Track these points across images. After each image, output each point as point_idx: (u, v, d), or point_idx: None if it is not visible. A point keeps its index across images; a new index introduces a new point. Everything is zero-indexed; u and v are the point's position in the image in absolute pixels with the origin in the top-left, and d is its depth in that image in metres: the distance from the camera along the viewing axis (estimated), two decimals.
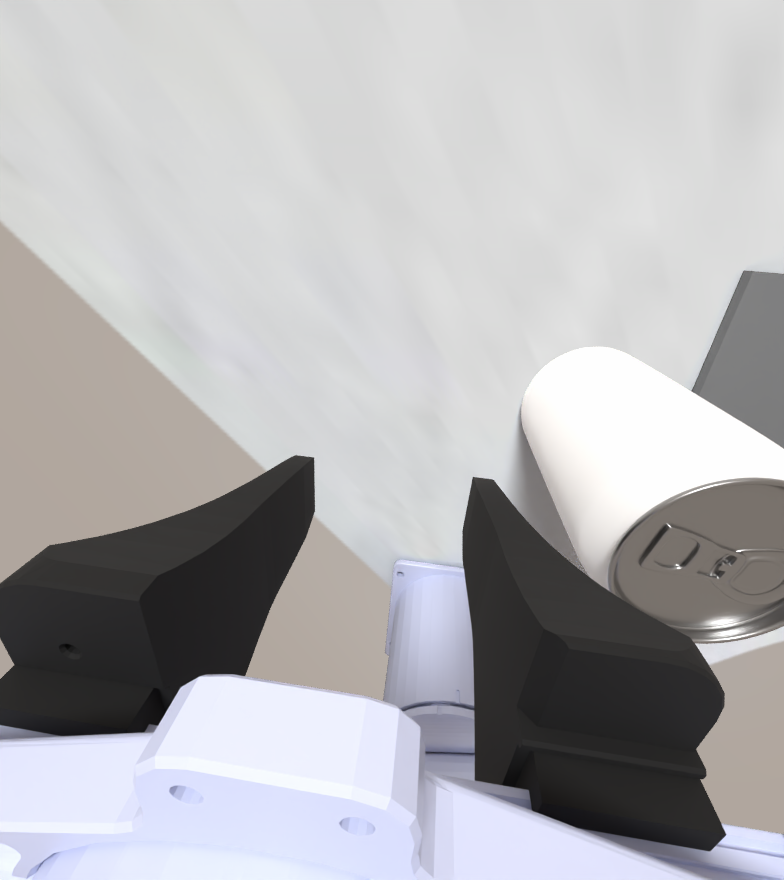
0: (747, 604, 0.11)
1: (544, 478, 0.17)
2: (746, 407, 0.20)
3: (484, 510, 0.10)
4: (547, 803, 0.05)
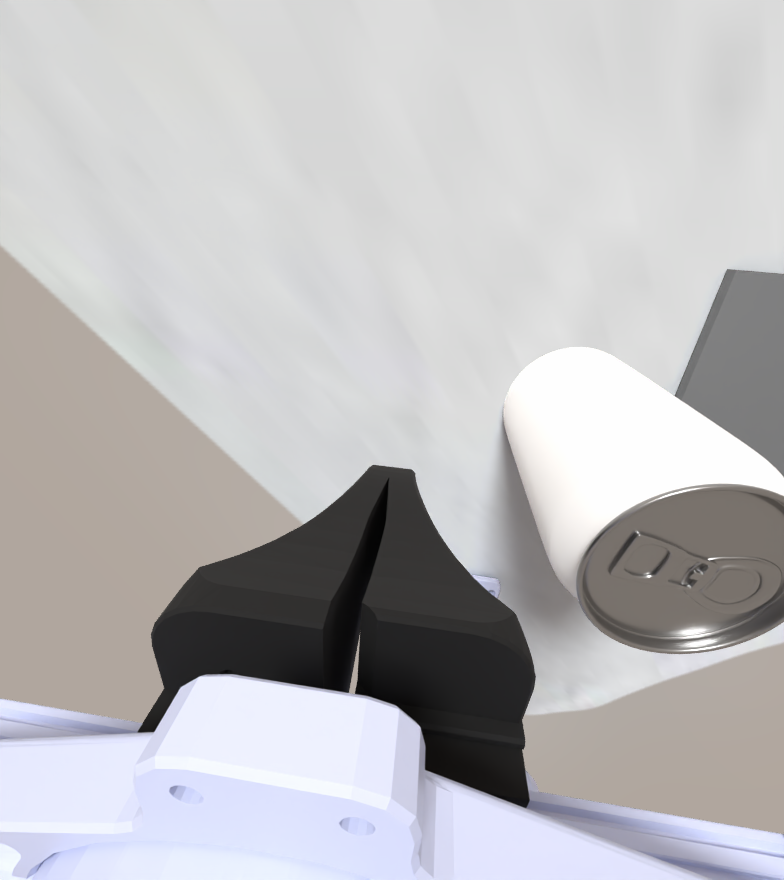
0: (721, 613, 0.11)
1: (522, 481, 0.16)
2: (731, 408, 0.19)
3: (387, 498, 0.10)
4: None
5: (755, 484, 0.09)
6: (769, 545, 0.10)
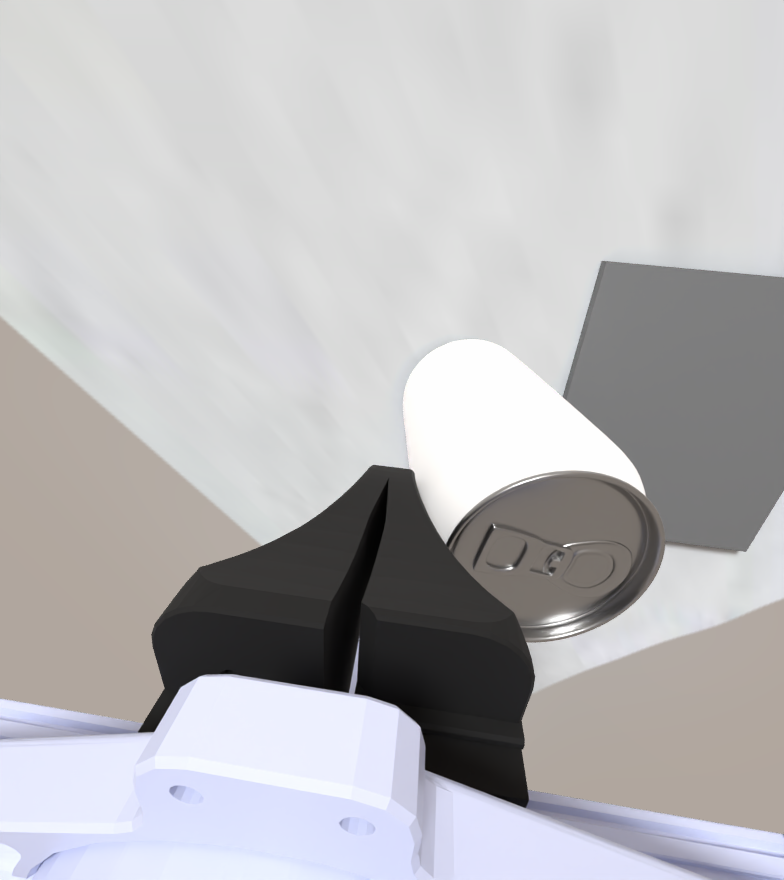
0: (583, 597, 0.11)
1: None
2: (617, 398, 0.20)
3: (387, 498, 0.10)
4: None
5: (596, 469, 0.09)
6: (616, 528, 0.10)
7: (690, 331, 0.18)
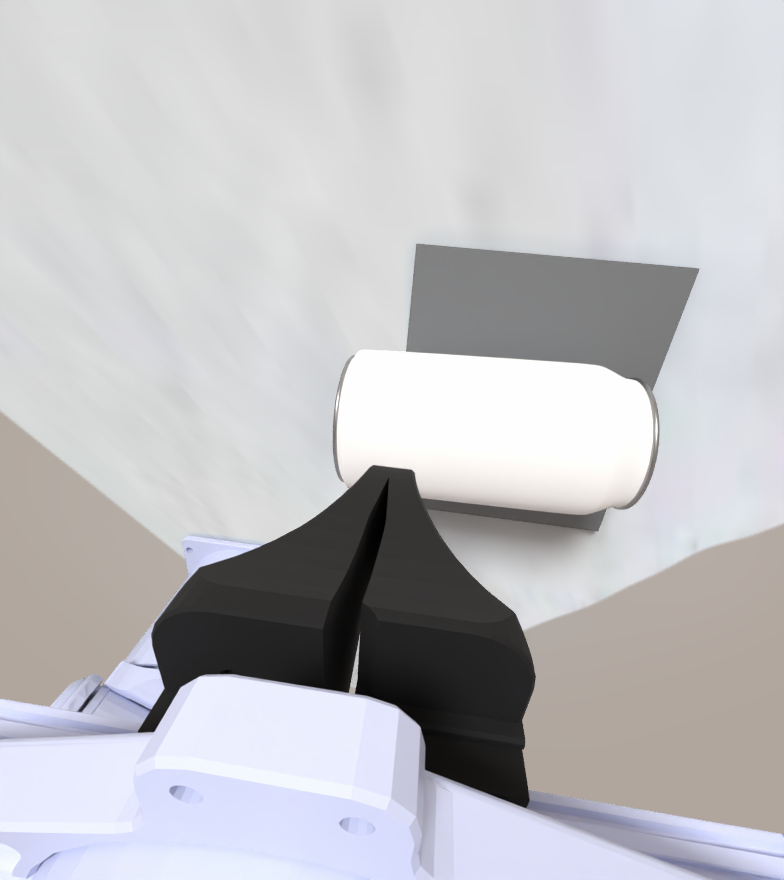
0: None
1: (478, 496, 0.16)
2: None
3: (387, 498, 0.10)
4: None
5: (630, 380, 0.16)
6: None
7: (506, 312, 0.19)
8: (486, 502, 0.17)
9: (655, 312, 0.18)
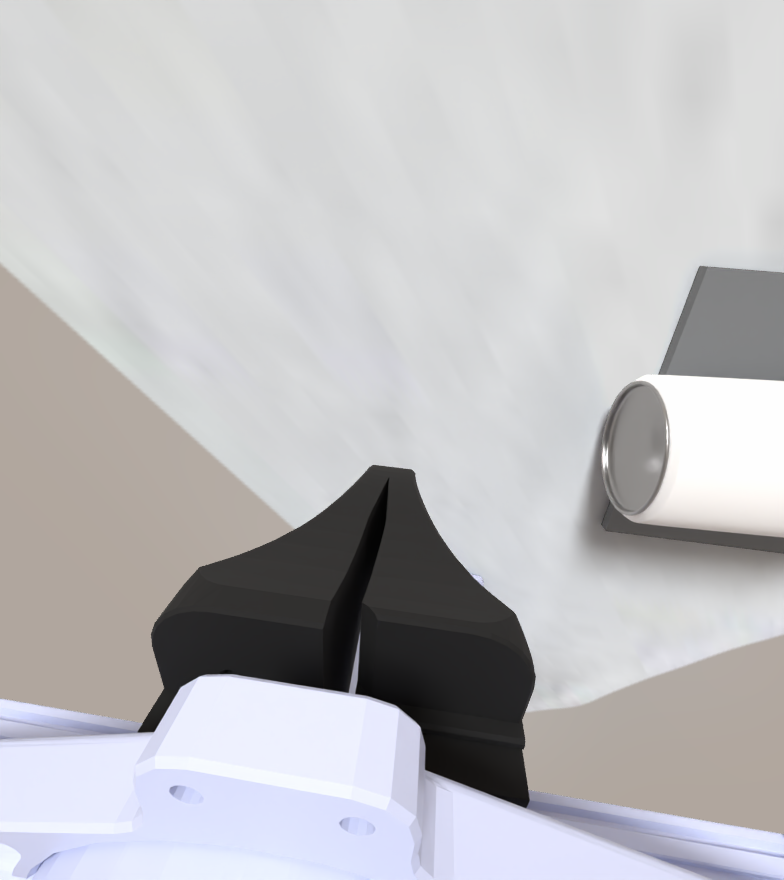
0: None
1: None
2: None
3: (387, 498, 0.10)
4: None
5: None
6: None
7: None
8: None
9: None
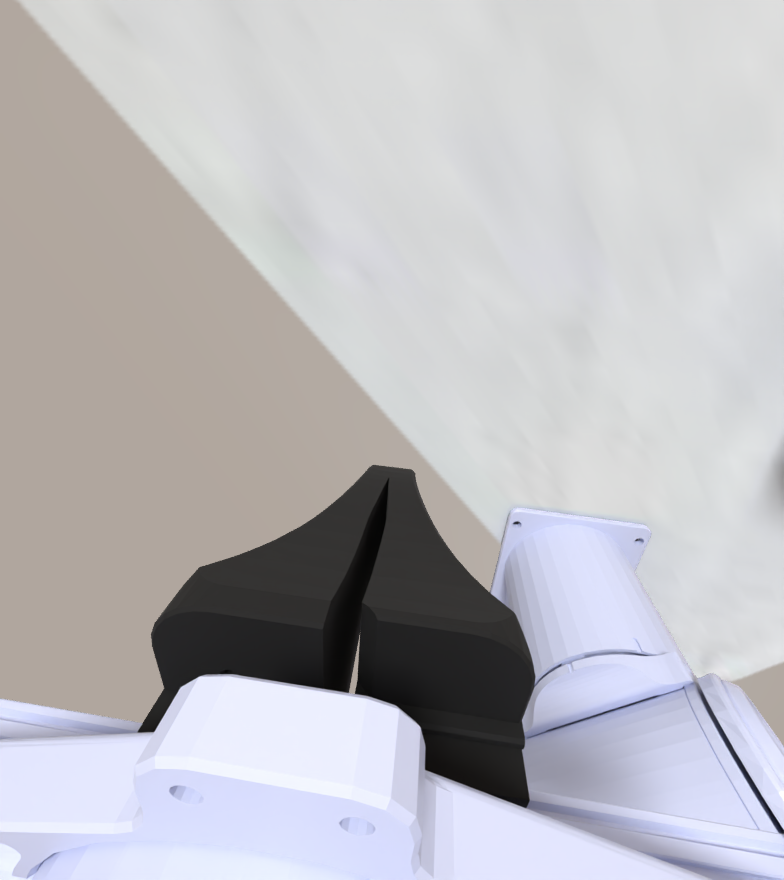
0: None
1: None
2: None
3: (387, 498, 0.10)
4: None
5: None
6: None
7: None
8: None
9: None
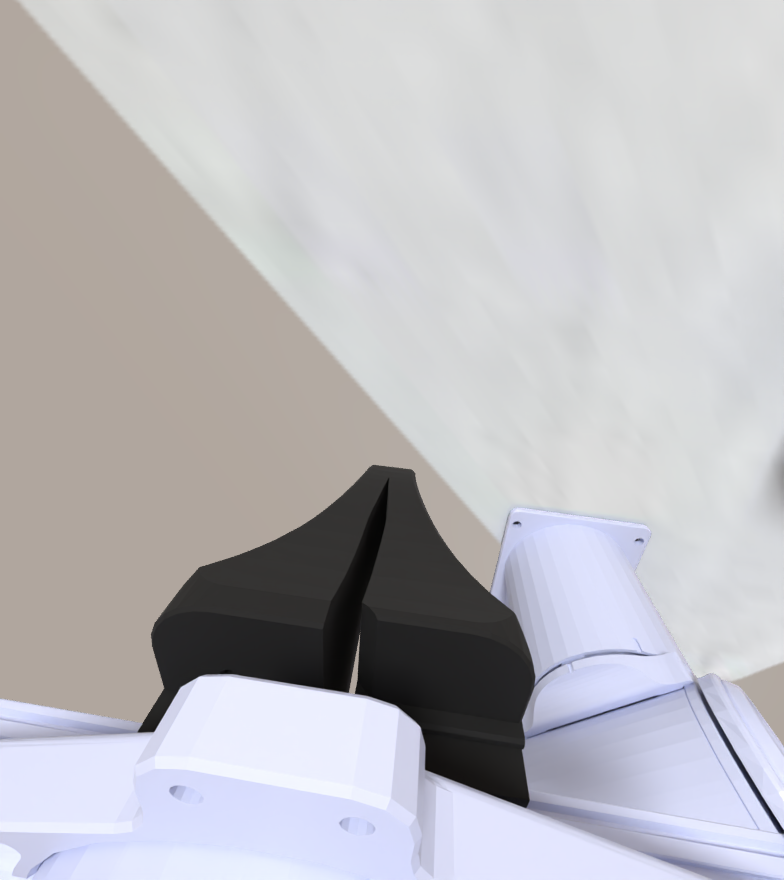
0: None
1: None
2: None
3: (387, 498, 0.10)
4: None
5: None
6: None
7: None
8: None
9: None
